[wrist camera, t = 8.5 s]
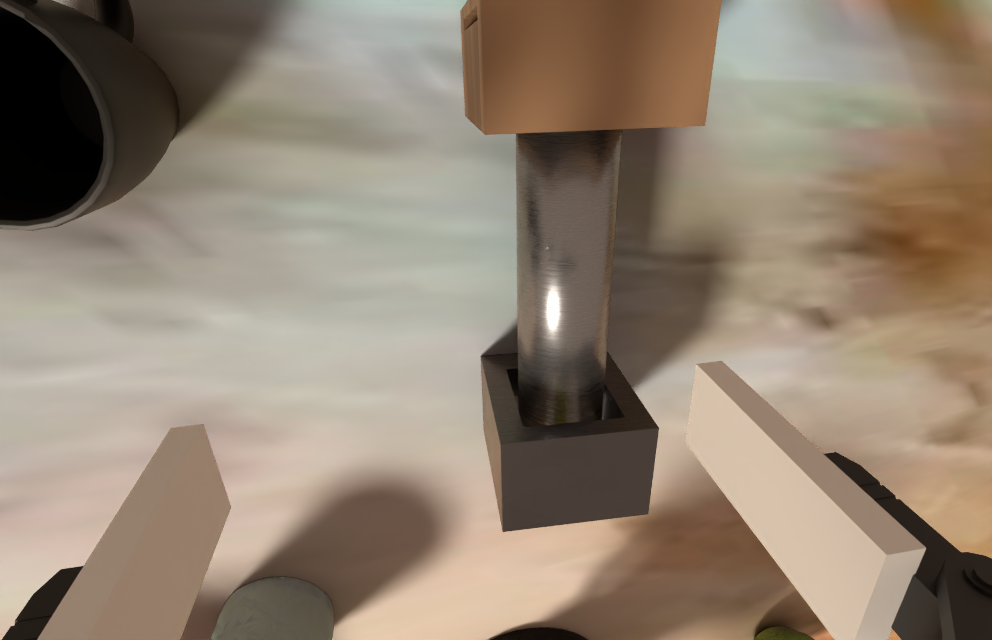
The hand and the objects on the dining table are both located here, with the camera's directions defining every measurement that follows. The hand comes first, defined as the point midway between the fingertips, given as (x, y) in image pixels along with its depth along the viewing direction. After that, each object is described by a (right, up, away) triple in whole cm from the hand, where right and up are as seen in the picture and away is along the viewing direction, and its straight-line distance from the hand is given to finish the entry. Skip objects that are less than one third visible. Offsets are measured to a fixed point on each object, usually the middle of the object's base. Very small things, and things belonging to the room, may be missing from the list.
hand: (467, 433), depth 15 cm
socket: (+4, +17, +14) cm, 22 cm away
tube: (+4, +6, +17) cm, 18 cm away
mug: (-17, +16, +12) cm, 26 cm away
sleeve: (+4, -2, +23) cm, 23 cm away
